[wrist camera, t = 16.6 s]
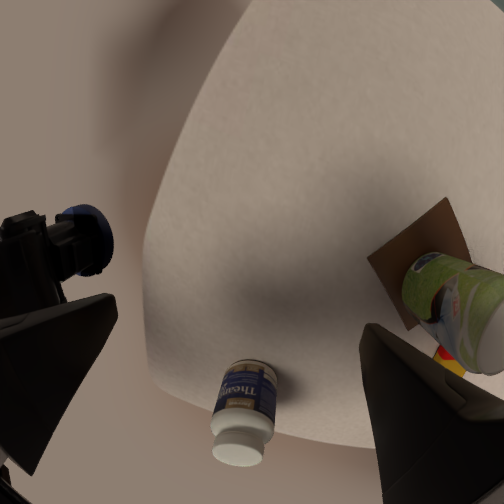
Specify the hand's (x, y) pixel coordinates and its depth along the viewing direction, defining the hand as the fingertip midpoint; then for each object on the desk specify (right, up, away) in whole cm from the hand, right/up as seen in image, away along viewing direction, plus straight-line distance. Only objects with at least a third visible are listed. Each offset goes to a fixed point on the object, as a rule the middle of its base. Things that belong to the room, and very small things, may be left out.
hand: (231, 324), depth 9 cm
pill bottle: (+1, -10, +17) cm, 20 cm away
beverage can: (+16, +1, +12) cm, 20 cm away
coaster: (+16, +1, +12) cm, 20 cm away
